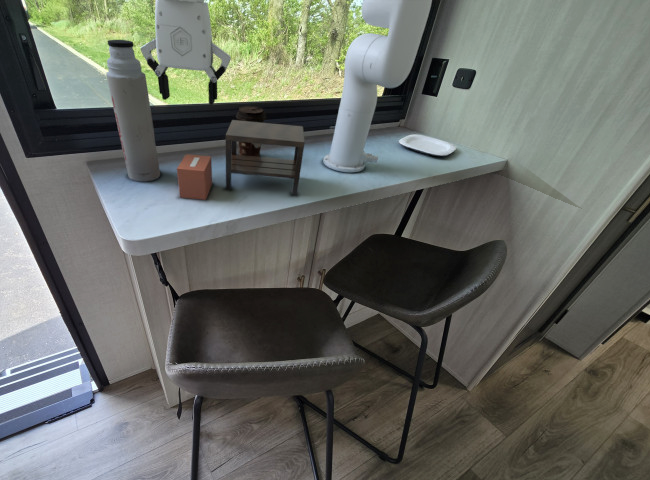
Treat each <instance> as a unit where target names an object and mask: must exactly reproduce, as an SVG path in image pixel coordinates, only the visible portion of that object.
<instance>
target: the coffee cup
mask: <svg viewBox="0 0 650 480" xmlns="http://www.w3.org/2000/svg"><path fill="white" fill-rule="evenodd" d="M235 117H236V120H238V121H249V122H259V123H264V122H265V121H266V120H267V115H266V112H265V111H264V109H263V108H262V107H259V106H252V105H245V106H241V107H239V109H238V112H237V113H236V115H235ZM261 148H262V144H259V143H248V142H238V155H245V156H256V157H261V156H260V155H261Z"/></svg>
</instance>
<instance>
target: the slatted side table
mask: <svg viewBox="0 0 650 480" xmlns="http://www.w3.org/2000/svg"><path fill="white" fill-rule="evenodd" d="M305 141H306V140H305V132H304V126H302V125H290V124H280V123H269V122H263V123H259V122H249V121H238V119H232V120H231V122H230V124H229V126H228V129H227V131H226V133H225V190H231V189H232V174H238V175H249V176H259V177H271V178H281V179H292V180H293V183H292V189H291V196H292V197H293V196H294V197H297V196H298V189H299V182H300V177H301V176H300V175H301V170H302V162H303V156H304V150H305V144H306V143H305ZM239 142H248V143H259V144H261V145H271V146H280V147H281V146H282V147H293V148H294V154H293V159H288V158H276V157H267V156H259V157H256V156H245V155H239V154H237V150H238V149H237V145H238V144H237V143H239Z"/></svg>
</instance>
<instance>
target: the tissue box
mask: <svg viewBox="0 0 650 480" xmlns="http://www.w3.org/2000/svg"><path fill="white" fill-rule="evenodd" d="M212 163H213V162H212V156H210V155H201V154H200V155H199V154H188V153H186V154H185V155H184V157H183V158H182V159H181V161H180V163H179V164H178V166H177V167H176V175H177V182H178V192H179V198H180V199H192V200H202V201H203V200H204V201H206V200H207V198H208V195H209V193H210V191H211V188H212V186H213V167H212V166H213V165H212Z"/></svg>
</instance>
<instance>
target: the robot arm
mask: <svg viewBox="0 0 650 480" xmlns="http://www.w3.org/2000/svg"><path fill="white" fill-rule="evenodd" d="M432 3H433V0H362V4H361V16H362V20H363V21H364V23H366V24H367V25H370V26H373V27H377V28H378V27H379V28H382V29H383V28H384V29H388V33H387V35H383V34H379V33H371V32H370V33H363V34H360V35H358V36H356V37H355V38H354V39H353V40H352V42H351V43H350V45H349V47H348V48H347V51H346V54H345V58H344V59H345V60H344V75H343V77H344V78H343V87H342V93H341V97H340V103H339V107H338V113H337V117H336V122H335V127H334V132H333V137H332V142H331V146H330V151H329V153H328V154H327V155H325V156H324V157H323V160H322V162H323V164H324V166H326V167H327V168H329V169H331V170H333V171H337V172H341V173H342V172H343V173H359V172H361V171H364V169H365V166H366V163H372V164H373V163H374V164H377V163H378V161H379V156H378V155H373V153H370V152H369V153H366V151H364V150H365V146H366V143H367V139H368V136H369V132H370V128H371V125H372V120H373V117H374V114H375V111H376V108H377V107H376V106H377V102H378V86H379V87H382V88H387V89H395V88H397V87H399V86H401V85H402V84H403V83H404V82H405V80H406V79H407V78H408V76H409V75H410V73H411V71H412V68H413V65H414V63H415V59H416V58H417V57H416V56H417V54H418V50H419V47H420V44H421V41H422V37H423V34H424V32H425V29H426V25H427V21H428V18H429V14H430V11H431V7H432ZM210 17H211V15H210V10H209V4H208V2H205V0H155V3H154V25H155V26H154V27H155V30H154V31H155V32H154V33H155V38H154V39H152V40H151V41H148V42H147V43H145V44H144V45H141V47H140V52H141V54H142V56H143V58H144V59H145V60H146V63H147V66H148V67H149V68H150V69H151V70H152V71H153V72H154V75H155V76H156V77H157V81H158V91H159V94H160V95H161V98H162V100H163V101H166V100H168V99H169V98H170V96H171V95H170V94H171V93H170V83H169V82H170V81H169V75H168V74H167V73H166V72H167V70H168V69H171V68H172V69H181V70H189V71H197V72H199V71H204V72H205V74H206V75H207V77H208V78H209V82H208V84H207V86H208V87H207V90H208V104H209V105H210V106H213V105H214V103H215V102H216V101H217V100H218V80H219V79H220V78H222V76H223V75H224V74H225V72H226V70H227V69H228V67H229V65H230V62H231V60H232V56H231V55H230V54H228V53H227V52H226V51H224V50H223V49H221V48H220V47H219V46H218V45H216V44H215V43H214V42H213V33H212V23H211V18H210ZM154 50H156V56H157V60H156V59H155V58H154V57H153V54H152V51H154ZM214 56H216V57H217V58H219V59H220V60H221V63H220V66H219V67H218V68H217V70H216V69H215V67H214V66H213V63H214ZM157 61H158V62H157Z"/></svg>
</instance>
